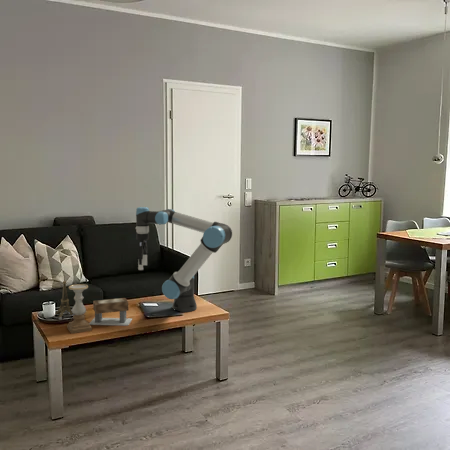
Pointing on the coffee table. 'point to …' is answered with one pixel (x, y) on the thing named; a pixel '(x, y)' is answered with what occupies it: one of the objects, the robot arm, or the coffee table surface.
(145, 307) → the coffee table surface
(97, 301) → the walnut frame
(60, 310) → the eiffel tower
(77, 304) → the candle holder
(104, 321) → the board
